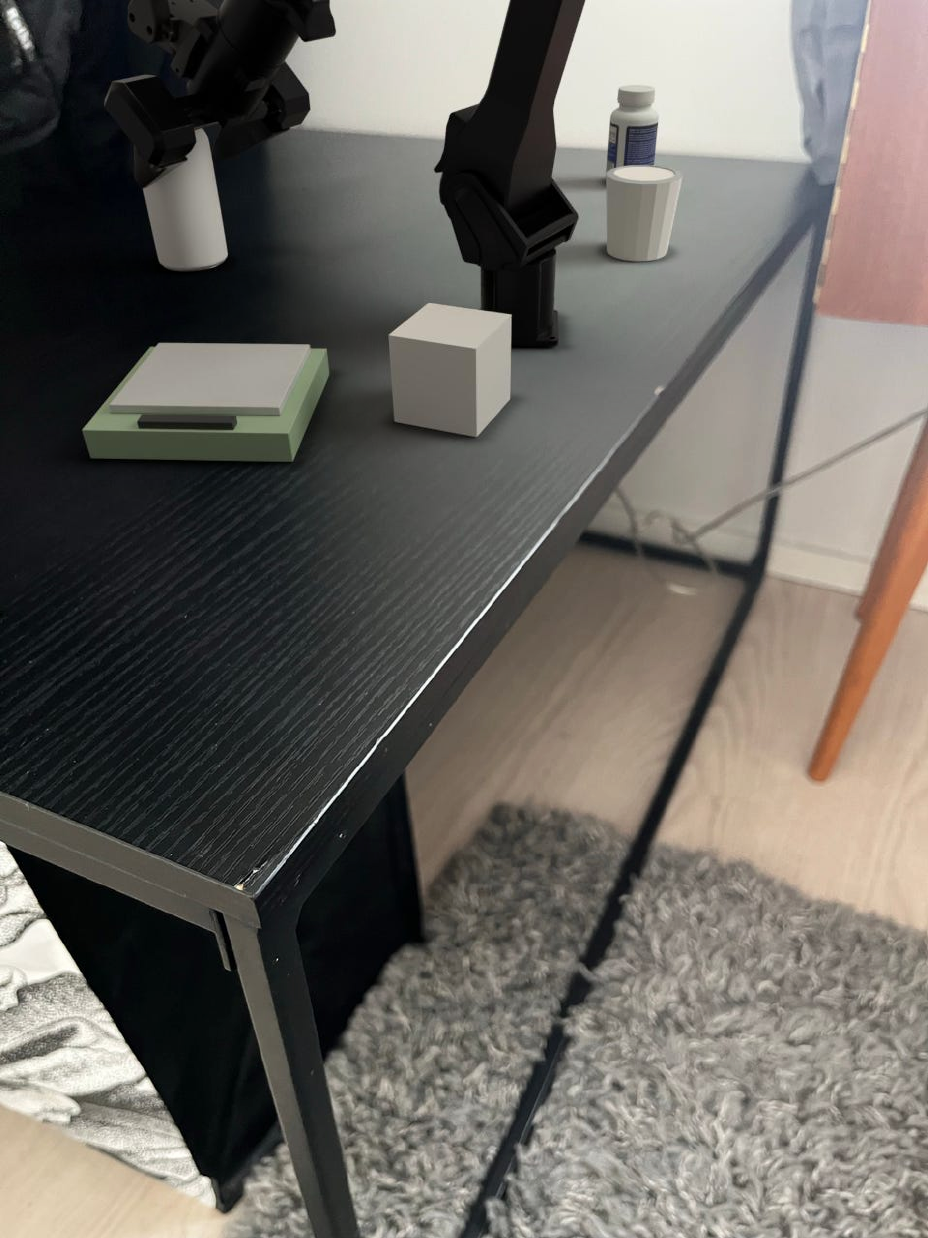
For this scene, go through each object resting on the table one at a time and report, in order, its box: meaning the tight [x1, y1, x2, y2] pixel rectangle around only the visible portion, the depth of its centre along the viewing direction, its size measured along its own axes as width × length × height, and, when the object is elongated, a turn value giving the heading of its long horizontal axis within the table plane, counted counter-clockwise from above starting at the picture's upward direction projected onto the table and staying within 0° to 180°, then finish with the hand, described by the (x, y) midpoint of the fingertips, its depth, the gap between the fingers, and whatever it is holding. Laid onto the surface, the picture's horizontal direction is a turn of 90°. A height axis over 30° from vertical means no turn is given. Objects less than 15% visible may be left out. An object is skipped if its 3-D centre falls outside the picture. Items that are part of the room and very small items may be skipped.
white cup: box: [605, 165, 684, 262], centre depth 87 cm, size 7×7×7 cm
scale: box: [81, 342, 330, 463], centre depth 63 cm, size 13×13×3 cm
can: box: [142, 128, 229, 273], centre depth 85 cm, size 6×6×12 cm
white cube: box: [388, 302, 512, 438], centre depth 62 cm, size 6×6×6 cm
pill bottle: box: [605, 84, 660, 174], centre depth 106 cm, size 5×5×10 cm
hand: (178, 171), depth 84 cm, fingers open, 9 cm apart
